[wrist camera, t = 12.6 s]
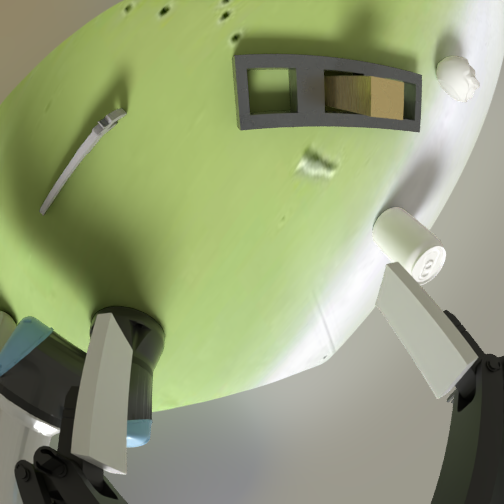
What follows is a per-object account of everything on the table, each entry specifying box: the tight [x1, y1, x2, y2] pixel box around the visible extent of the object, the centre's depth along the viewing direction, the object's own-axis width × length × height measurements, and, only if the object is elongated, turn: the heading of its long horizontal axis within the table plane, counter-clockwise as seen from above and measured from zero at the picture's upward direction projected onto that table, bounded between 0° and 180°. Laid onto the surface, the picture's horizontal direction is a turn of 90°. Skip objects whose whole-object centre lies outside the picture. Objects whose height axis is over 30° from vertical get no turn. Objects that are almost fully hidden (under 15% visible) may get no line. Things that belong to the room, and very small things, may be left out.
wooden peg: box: [324, 76, 404, 120], centre depth 25 cm, size 4×4×12 cm
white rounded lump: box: [436, 56, 479, 102], centre depth 25 cm, size 8×8×8 cm
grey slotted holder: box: [232, 54, 422, 132], centre depth 28 cm, size 9×26×3 cm, turn 94°
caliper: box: [39, 108, 127, 216], centre depth 27 cm, size 20×1×6 cm, turn 126°
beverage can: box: [372, 207, 446, 285], centre depth 38 cm, size 8×8×12 cm
